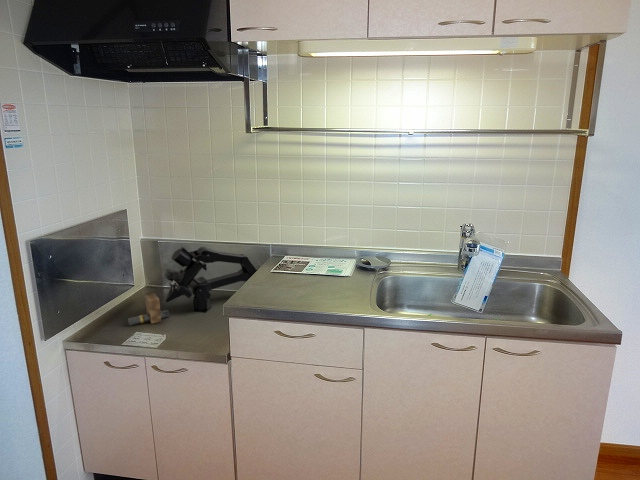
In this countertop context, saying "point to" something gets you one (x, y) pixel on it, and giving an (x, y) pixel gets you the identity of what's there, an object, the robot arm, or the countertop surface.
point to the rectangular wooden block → (153, 307)
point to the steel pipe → (145, 318)
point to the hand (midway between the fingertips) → (166, 301)
